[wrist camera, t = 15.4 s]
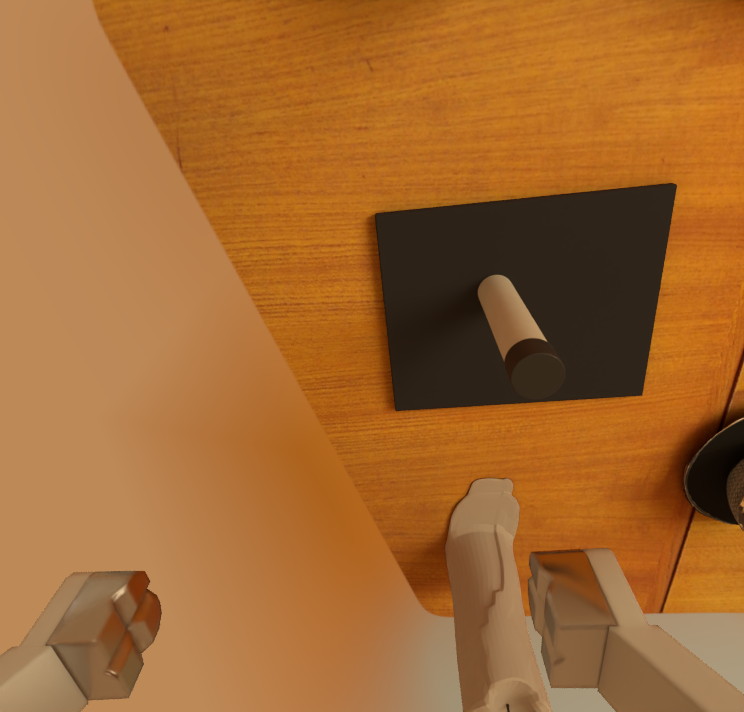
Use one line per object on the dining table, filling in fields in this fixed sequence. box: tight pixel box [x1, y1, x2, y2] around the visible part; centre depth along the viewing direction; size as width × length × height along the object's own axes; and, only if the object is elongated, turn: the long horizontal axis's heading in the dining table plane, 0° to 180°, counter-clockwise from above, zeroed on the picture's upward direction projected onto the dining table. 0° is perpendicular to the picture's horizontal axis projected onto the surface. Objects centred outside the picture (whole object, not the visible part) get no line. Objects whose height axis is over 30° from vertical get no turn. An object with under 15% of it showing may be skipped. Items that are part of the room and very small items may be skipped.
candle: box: [445, 478, 552, 712], centre depth 44 cm, size 7×14×20 cm, turn 177°
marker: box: [478, 275, 565, 399], centre depth 34 cm, size 3×3×14 cm
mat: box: [375, 183, 677, 411], centre depth 41 cm, size 22×18×1 cm
